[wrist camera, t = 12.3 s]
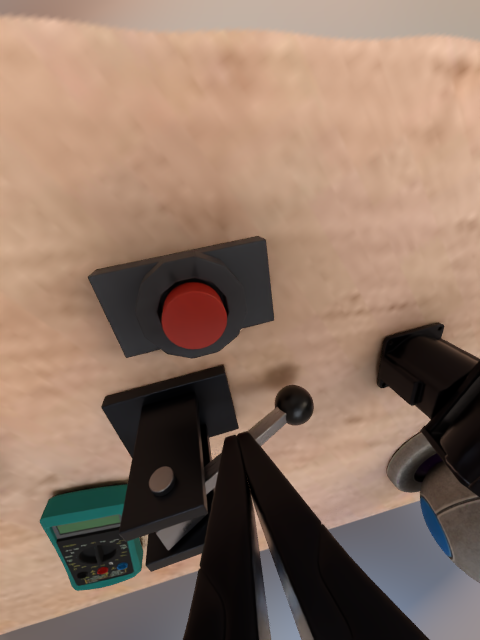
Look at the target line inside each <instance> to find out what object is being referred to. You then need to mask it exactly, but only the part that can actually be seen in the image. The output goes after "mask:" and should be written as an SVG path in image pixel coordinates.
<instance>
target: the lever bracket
mask: <svg viewBox="0 0 480 640" xmlns="http://www.w3.org/2000/svg"><path fill="white" fill-rule="evenodd" d="M102 409H103V411H104V413H105V414H106V416H107V418H108V419H109V421H110V422H111V424H112V426H113V427H114V429H115V431H116V432H117V434H118V436H119V437H120V439H121V441H122V442H123V444H124V445H125V447H126V449H127V450H128V452H129V454H130V455H131V457H132V464H131V469H130V475H129V480H128V485H127V491H126V496H125V502H124V507H123V513H122V518H121V524H120V529H119V535H120V536H121V537H122V538H123V539H124V540H125V541H126V542H127V541H130V540H133V539H136V538H139V537H142V536H145V535H147V534H148V545H147V555H146V566H147V568H148V569H149V570H150V571H154V570H157V569H160V568H163V567H165V566H168V565H171V564H174V563H176V562H179V561H182V560H185V559H187V558H190V557H193V556H196V555H199V554H201V553H202V551H203V546H204V541H205V536H206V531H207V526H208V521H209V516H210V511H211V506H212V501H213V495H214V490H215V487H214V488H213V489H212V490H211V491H210V492H209V493H208V494H206V487H205V475H204V467H205V466H206V465H207V464H208V463H210V462H211V461H212V458H211V450H210V442H209V437H213V436H216V435H219V434H222V433H226V432H229V431H232V430H236V429H238V428H239V427H238V423H237V419H236V414H235V410H234V406H233V402H232V398H231V394H230V390H229V386H228V381H227V377H226V373H225V369H224V366H223V365H221V366H218V367H214V368H210V369H207V370H203V371H199V372H195V373H192V374H188V375H184V376H181V377H177V378H173V379H170V380H166V381H162V382H158V383H155V384H151V385H147V386H144V387H140V388H136V389H132V390H129V391H125V392H121V393H118V394H114V395H110V396H106V397H105V399H104V401H103V404H102ZM207 513H208V514H207ZM206 514H207V515H206ZM203 515H206V516H205V517H204V518H203V519H202V520H200V521H199V522H198V523H197V524H196V525H195V526H194V527H193V528H192V529H191V530H190V531H189V532H188V533H187V534H186V535H185V536H183V537H182V538H181V539H180V540H179V541H178V542H177V543H176V544H175V545H174V546H173V547H172V548H171V549H170V550H167V549H166V547H165V546H164V544H163V543H162V541H161V540H160V539H159V537H158V536H157V534H156V531H159V530H162V529H165V528H168V527H171V526H174V525H177V524H180V523H182V522H185V521H188V520H191V519H194V518H197V517H200V516H203Z"/></svg>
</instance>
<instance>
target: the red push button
mask: <svg viewBox="0 0 480 640" xmlns="http://www.w3.org/2000/svg"><path fill="white" fill-rule="evenodd" d="M161 322H162V328H163V331H164V333H165V335H166V336H167V337H168V339H169V340H170V341H172V342H173V343H174V344H176V345H178V346H180V347H182V348H186V349H201V348H205V347H207V346H210V345H211V344H213V343H215V342H216V341H217V340H218V339H219V338H220V337H221V336H222V334H223V333H224V331H225V328H226V325H227V314H226V310H225V308H224V305H223V303H222V301H221V298H220V296H219V295H218V293H217V292H216V291H215V290H214V289H213V288H211V287H210V286H208V285H206V284H203V283H199V282H188V283H184V284H181V285H179V286H177V287H175V288H174V289H173V290H172V291H171V292H170V293H169V294H168V295H167V297H166V299H165V302H164V306H163V312H162V321H161Z"/></svg>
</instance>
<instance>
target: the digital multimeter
mask: <svg viewBox="0 0 480 640" xmlns="http://www.w3.org/2000/svg"><path fill="white" fill-rule="evenodd" d="M127 485H128V484H122V485H112V486H105V487H98V488H91V489H85V490H80V491H74V492H69V493H65V494H60V495H57V496H54V497H52V498H50V499H49V501H48V503H47V505H46V507H45V510H44V512H43V514H42V517H41V519H40V524H41V525H42V527H43V529H44V530H45V532H46V534H47V536H48V537H49V539H50V541H51V542H52V544H53V546H54V547H55V549H56V551H57V553H58V555H59V557H60V559H61V561H62V563H63V565H64V567H65V569H66V572H67V574H68V576H69V579H70V582H71V585H72V587H73V588H74V589H75V590H77V591H79V590H89V589H96V588H102V587H106V586H110V585H114V584H117V583H119V582H122V581H125V580H128V579H130V578H133V577H135V576H136V575H137V574H138V573H139V572H140V571H141V568H142V559H143V549H142V546H141V543H140V539H139V538H136V539H133V540H130V541H127V542H126V541H125V540H124V539H123V538H122V537H121V536H120V535H119V529H120V524H121V518H122V513H123V507H124V502H125V496H126V491H127Z"/></svg>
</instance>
